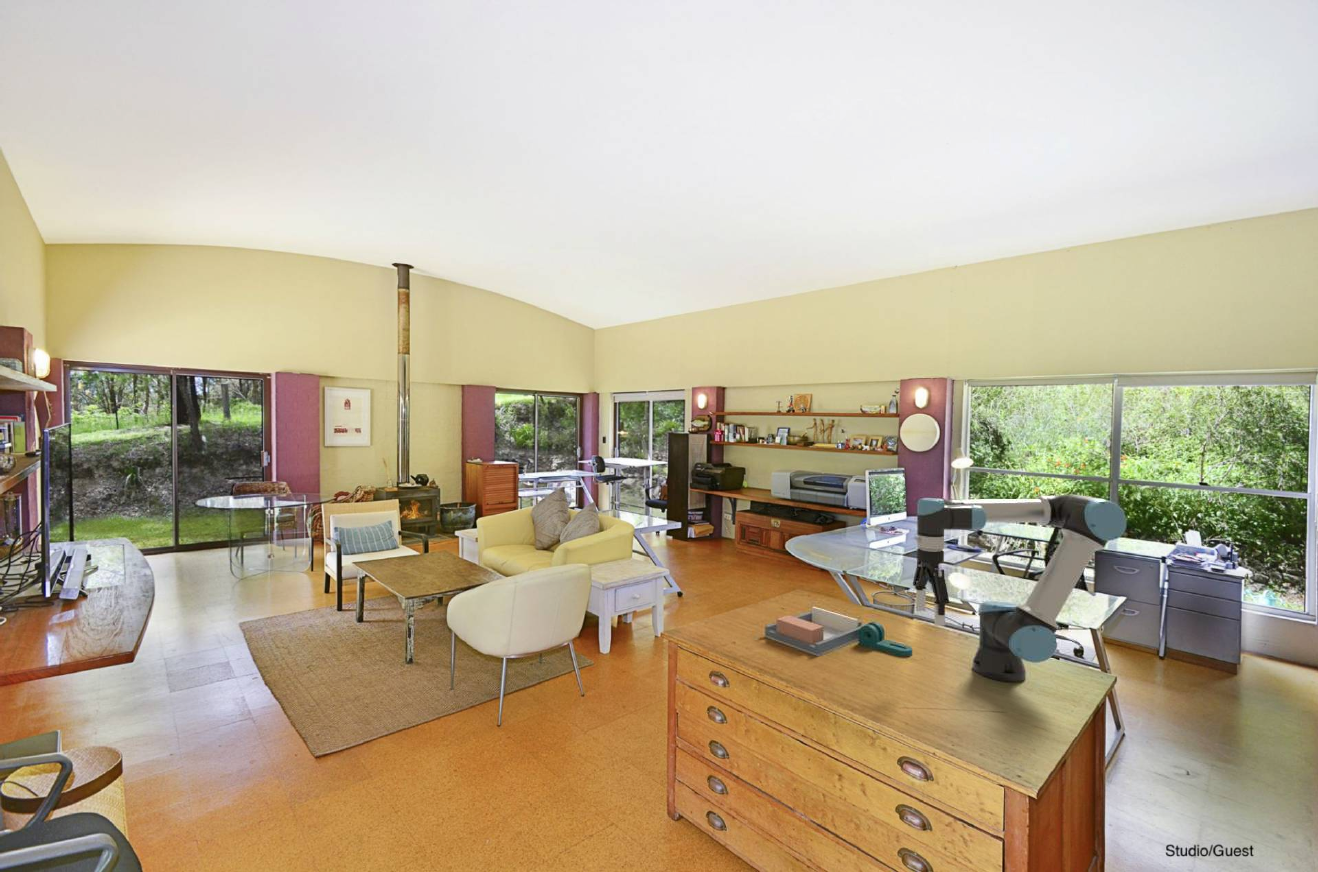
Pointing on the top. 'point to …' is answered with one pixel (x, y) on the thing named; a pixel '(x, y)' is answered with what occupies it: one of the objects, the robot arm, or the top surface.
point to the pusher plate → (833, 620)
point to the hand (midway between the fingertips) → (929, 617)
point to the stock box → (800, 629)
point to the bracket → (881, 640)
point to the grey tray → (830, 642)
